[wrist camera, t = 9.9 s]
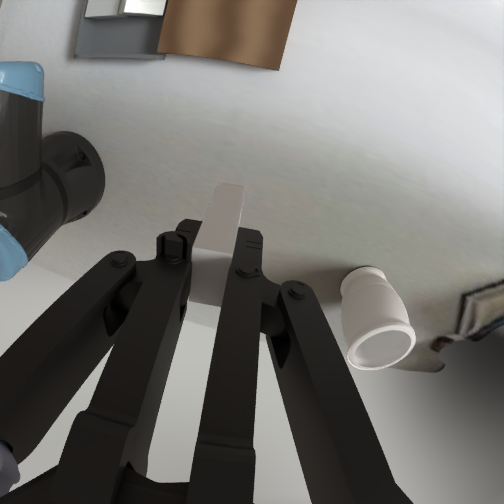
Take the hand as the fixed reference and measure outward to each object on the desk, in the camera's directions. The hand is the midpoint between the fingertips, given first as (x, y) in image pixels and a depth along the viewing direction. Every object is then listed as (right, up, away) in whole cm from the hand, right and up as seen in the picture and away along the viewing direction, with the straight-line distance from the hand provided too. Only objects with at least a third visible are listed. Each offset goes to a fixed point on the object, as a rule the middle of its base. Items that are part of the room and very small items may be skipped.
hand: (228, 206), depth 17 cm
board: (-1, +28, +13) cm, 31 cm away
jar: (+21, -8, +36) cm, 42 cm away
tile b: (-13, +30, +10) cm, 34 cm away
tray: (-15, +31, +12) cm, 36 cm away
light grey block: (-17, +29, +8) cm, 35 cm away
